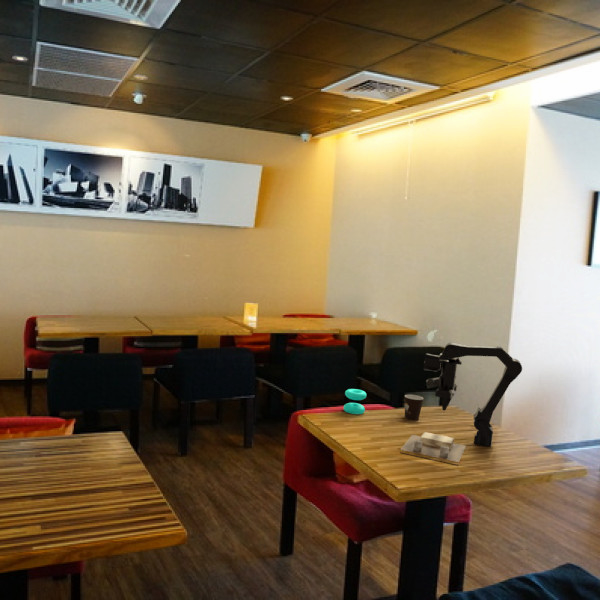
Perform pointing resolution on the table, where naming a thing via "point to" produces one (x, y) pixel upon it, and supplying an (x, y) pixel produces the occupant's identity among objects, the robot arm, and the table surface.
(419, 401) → the coffee mug
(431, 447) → the bench board
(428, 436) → the maple plate
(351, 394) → the donuts
